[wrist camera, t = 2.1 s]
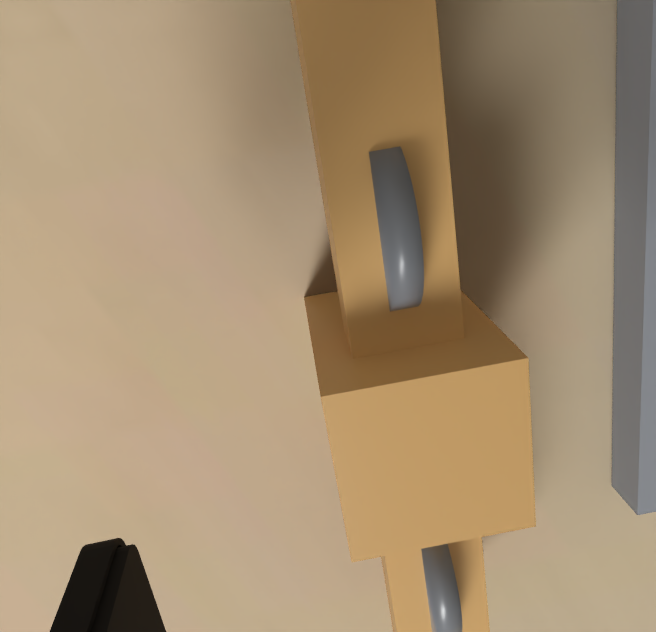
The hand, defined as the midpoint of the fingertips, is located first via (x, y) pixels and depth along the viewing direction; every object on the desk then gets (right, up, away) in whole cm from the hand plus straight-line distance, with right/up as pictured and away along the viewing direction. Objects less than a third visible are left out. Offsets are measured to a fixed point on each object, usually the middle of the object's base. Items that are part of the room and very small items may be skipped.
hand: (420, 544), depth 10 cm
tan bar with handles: (0, +3, +8) cm, 8 cm away
